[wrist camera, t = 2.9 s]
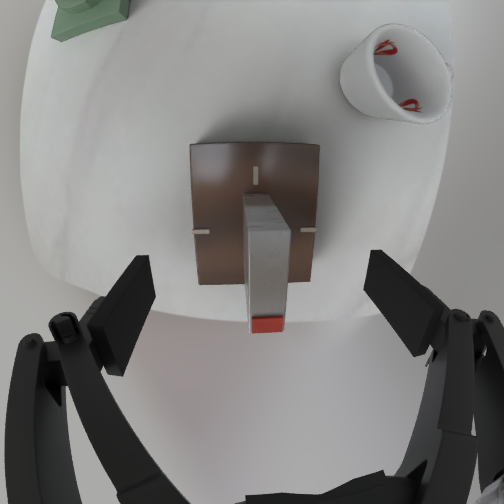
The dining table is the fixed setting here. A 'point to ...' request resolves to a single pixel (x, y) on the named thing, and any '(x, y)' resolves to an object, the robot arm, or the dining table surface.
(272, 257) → the gray rectangular block
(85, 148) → the dining table surface
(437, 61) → the cup
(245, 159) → the tap panel
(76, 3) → the button box
